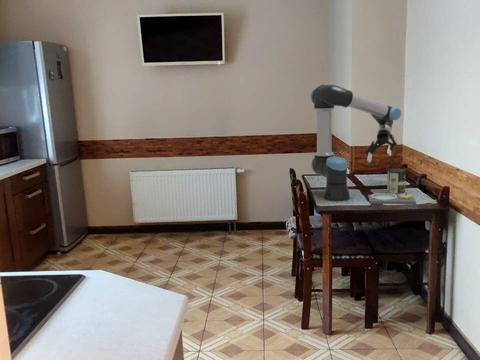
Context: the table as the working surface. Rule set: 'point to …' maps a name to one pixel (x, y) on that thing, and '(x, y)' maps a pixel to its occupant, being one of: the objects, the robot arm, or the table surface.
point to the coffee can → (396, 181)
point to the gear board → (391, 198)
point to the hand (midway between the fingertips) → (378, 157)
